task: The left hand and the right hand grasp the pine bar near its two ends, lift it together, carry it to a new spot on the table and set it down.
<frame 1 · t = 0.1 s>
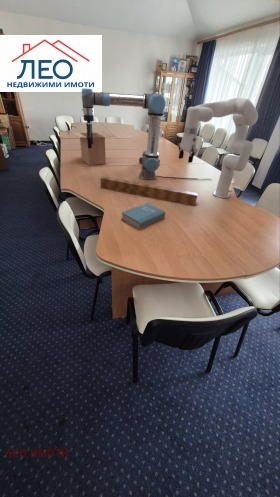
left hand: (90, 146, 173), 28 cm above the table, tool pointing down, fingers open, 13 cm apart
right hand: (185, 160, 144), 31 cm above the table, tool pointing down, fingers open, 9 cm apart
box: (93, 161, 237), on the table
book: (143, 219, 141), on the table
bar: (146, 195, 172), on the table
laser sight: (148, 164, 240), on the table
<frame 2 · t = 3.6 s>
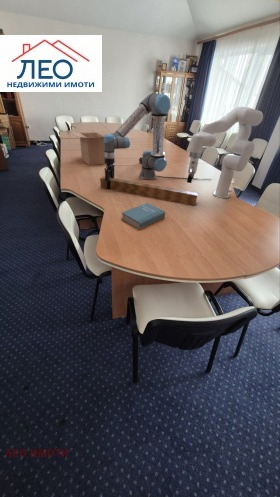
left hand: (110, 187, 178), 1 cm above the table, tool pointing down, fingers closed on bar, 5 cm apart
right hand: (190, 180, 155), 17 cm above the table, tool pointing down, fingers open, 9 cm apart
bar: (146, 195, 172), on the table, touching left hand
everything else where it was.
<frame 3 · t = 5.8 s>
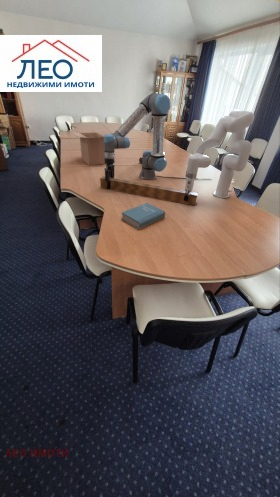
left hand: (110, 187, 178), 1 cm above the table, tool pointing down, fingers closed on bar, 5 cm apart
right hand: (186, 199, 164), 3 cm above the table, tool pointing down, fingers closed on bar, 5 cm apart
bar: (146, 195, 172), on the table, touching left hand, right hand
everything else where it was.
when the left hand's fingers open (2 cm above the table, at t = 10.4 s): bar stays where it is, on the table.
when the right hand's fingers open (3 cm above the table, at t = 10.5 s): bar stays where it is, on the table.
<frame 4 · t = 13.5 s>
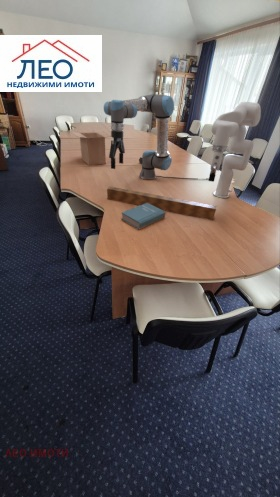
left hand: (117, 165, 148), 24 cm above the table, tool pointing down, fingers open, 13 cm apart
right hand: (211, 178, 133), 26 cm above the table, tool pointing down, fingers open, 9 cm apart
bar: (158, 207, 156), on the table
everything else where it was.
at the end: bar inside the target area (0.5 cm from its centre), on the table; bar tilted 0°; bar never tilted more than 2° during the clip; both hands held the bar at the same time; the left hand is holding nothing; the right hand is holding nothing; bar at rest at the end (0.0 cm/s) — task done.
